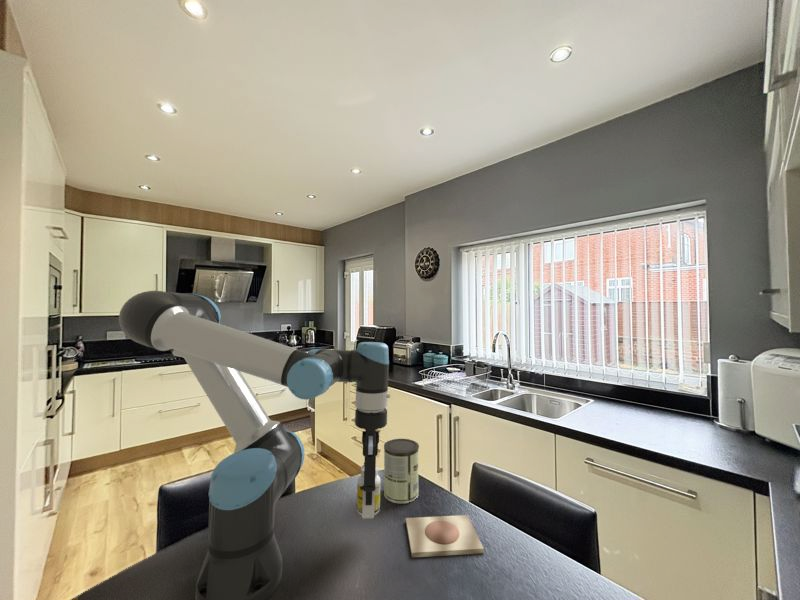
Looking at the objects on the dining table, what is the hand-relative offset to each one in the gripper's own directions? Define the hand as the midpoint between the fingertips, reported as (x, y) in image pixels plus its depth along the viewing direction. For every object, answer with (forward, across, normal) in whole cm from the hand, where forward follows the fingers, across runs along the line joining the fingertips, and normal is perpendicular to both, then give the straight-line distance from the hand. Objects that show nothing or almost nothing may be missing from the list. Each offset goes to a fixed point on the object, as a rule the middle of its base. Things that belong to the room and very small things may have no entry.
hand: (368, 508), depth 76 cm
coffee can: (+7, +19, -10) cm, 22 cm away
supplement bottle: (+1, 0, 0) cm, 1 cm away
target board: (+7, 0, -18) cm, 19 cm away
